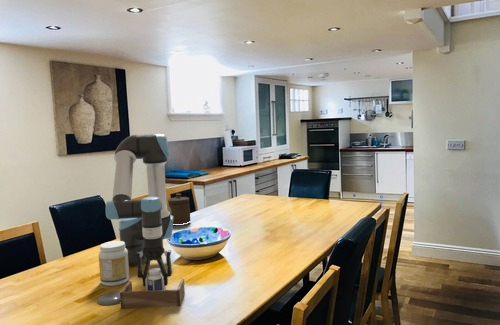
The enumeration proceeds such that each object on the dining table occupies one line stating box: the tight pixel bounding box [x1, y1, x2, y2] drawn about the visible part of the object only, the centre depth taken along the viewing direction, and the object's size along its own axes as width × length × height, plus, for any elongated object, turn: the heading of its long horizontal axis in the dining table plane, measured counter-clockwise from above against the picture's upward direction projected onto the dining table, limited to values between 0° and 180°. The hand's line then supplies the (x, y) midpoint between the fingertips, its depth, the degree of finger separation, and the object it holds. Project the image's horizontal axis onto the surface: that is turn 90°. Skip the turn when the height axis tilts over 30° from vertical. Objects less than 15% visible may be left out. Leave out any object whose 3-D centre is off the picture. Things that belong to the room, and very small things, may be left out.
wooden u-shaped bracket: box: [119, 278, 186, 310], centre depth 153 cm, size 12×22×6 cm, turn 91°
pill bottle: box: [147, 267, 163, 291], centre depth 157 cm, size 6×6×10 cm
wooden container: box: [167, 192, 191, 224], centre depth 281 cm, size 15×15×22 cm
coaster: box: [97, 291, 121, 306], centre depth 156 cm, size 11×11×1 cm
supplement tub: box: [98, 240, 130, 287], centre depth 174 cm, size 12×12×17 cm
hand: (156, 293), depth 157 cm, fingers closed on pill bottle, 6 cm apart
